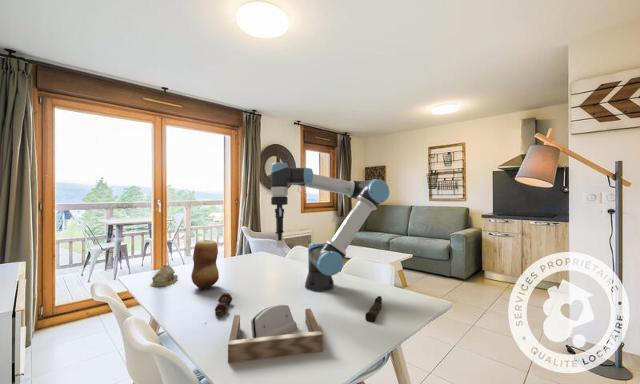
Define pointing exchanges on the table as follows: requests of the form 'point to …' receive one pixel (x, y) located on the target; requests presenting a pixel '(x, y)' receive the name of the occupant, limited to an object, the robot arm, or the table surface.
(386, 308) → the table surface
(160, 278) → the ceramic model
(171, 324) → the table surface
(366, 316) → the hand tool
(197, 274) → the butternut squash
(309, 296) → the table surface
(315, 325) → the frame
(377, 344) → the table surface
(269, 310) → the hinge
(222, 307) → the bolt
